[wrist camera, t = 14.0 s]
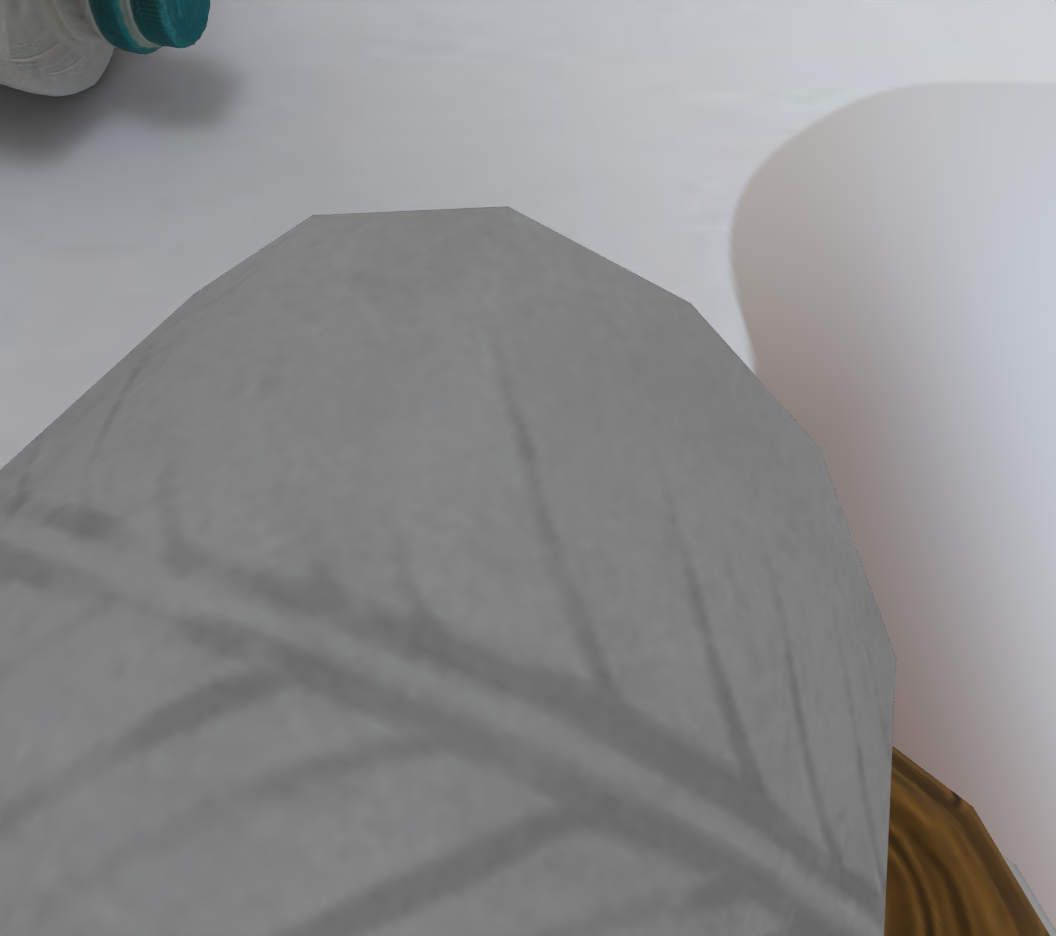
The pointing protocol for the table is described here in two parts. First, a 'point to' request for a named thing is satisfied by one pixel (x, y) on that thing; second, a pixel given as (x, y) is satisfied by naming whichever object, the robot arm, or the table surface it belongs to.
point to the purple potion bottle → (453, 624)
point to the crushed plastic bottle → (86, 38)
